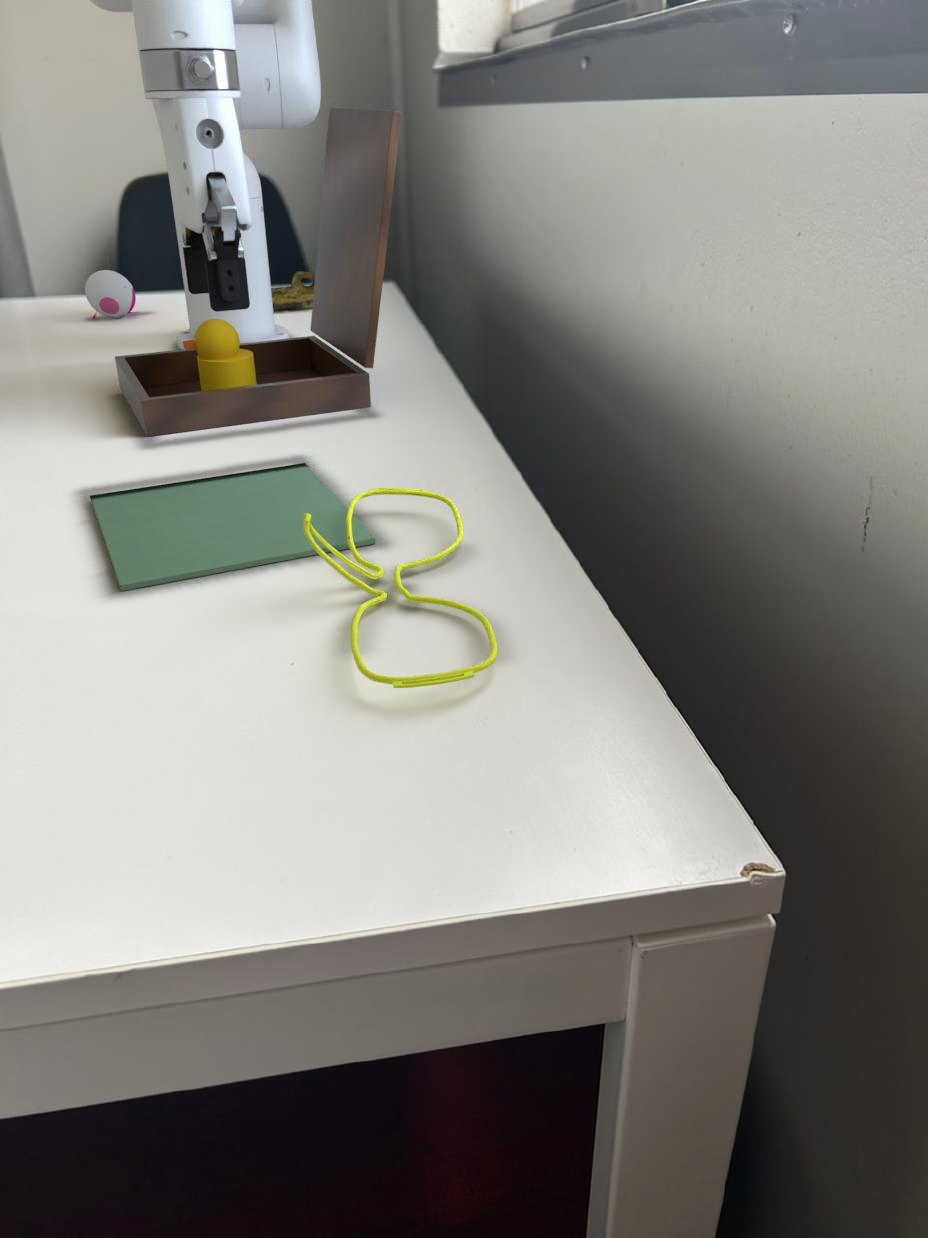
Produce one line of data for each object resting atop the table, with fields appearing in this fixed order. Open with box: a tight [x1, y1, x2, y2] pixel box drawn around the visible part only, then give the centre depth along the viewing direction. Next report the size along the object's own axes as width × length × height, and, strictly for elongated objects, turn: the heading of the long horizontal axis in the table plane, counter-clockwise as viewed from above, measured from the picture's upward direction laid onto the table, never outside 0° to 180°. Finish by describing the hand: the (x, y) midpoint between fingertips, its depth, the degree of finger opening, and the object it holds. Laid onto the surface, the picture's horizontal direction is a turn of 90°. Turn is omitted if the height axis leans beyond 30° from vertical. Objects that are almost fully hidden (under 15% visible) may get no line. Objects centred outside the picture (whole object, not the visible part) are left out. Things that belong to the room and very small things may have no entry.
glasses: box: [303, 487, 499, 689], centre depth 57 cm, size 25×10×5 cm, turn 7°
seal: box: [271, 270, 315, 312], centre depth 132 cm, size 9×5×15 cm
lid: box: [310, 106, 403, 369], centre depth 89 cm, size 20×17×1 cm
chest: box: [114, 335, 372, 438], centre depth 91 cm, size 20×17×4 cm
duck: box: [183, 319, 257, 391], centre depth 89 cm, size 6×5×7 cm
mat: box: [89, 462, 377, 592], centre depth 68 cm, size 18×16×1 cm
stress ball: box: [84, 269, 140, 320], centre depth 127 cm, size 8×8×7 cm
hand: (218, 300), depth 87 cm, fingers open, 9 cm apart
